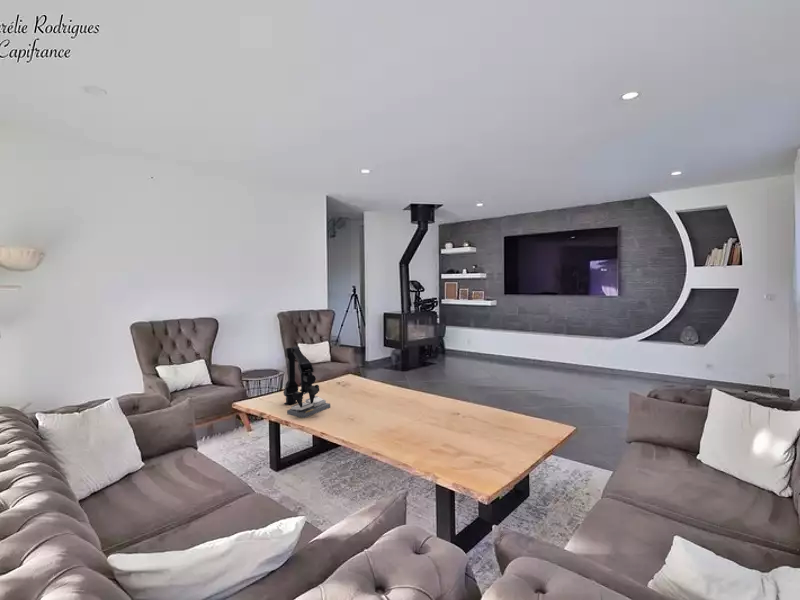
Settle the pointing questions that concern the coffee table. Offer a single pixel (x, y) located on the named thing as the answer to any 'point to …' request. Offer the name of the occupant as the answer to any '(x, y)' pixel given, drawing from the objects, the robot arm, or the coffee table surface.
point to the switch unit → (308, 410)
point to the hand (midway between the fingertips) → (306, 405)
